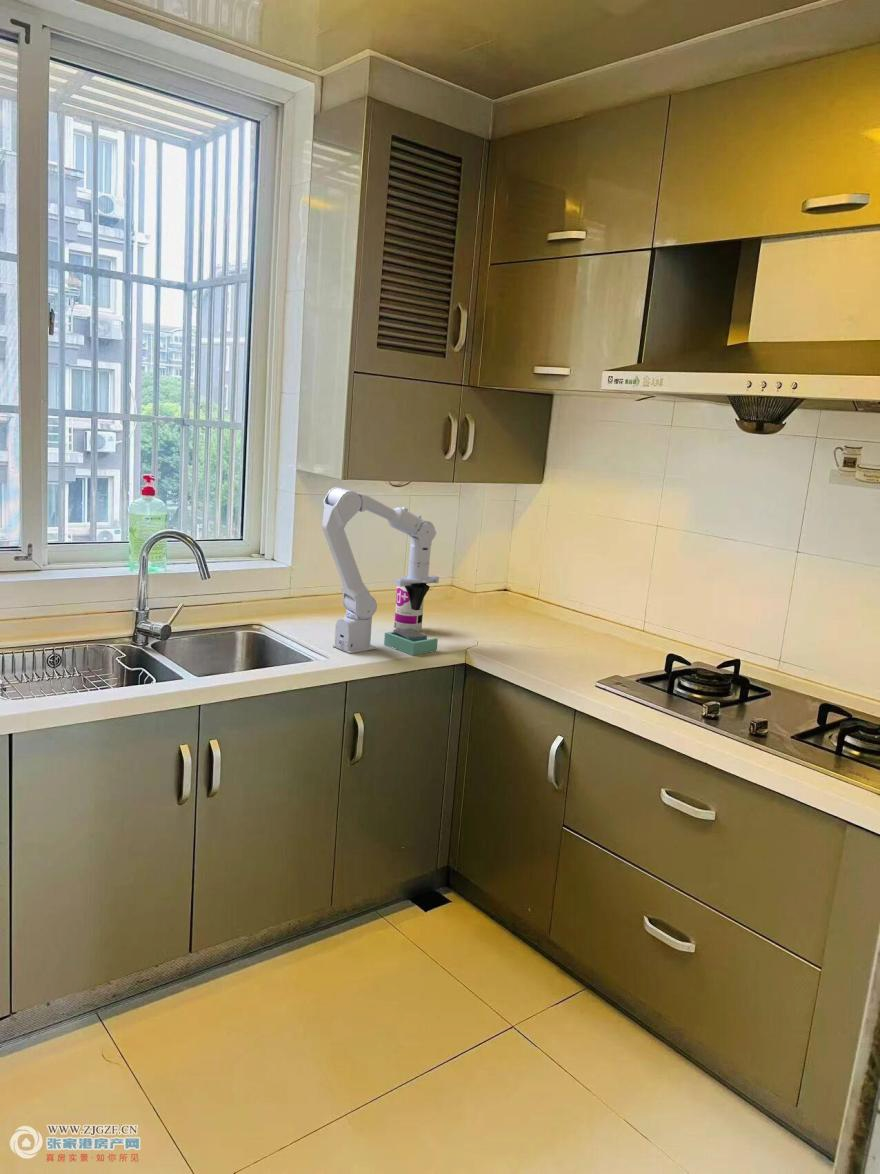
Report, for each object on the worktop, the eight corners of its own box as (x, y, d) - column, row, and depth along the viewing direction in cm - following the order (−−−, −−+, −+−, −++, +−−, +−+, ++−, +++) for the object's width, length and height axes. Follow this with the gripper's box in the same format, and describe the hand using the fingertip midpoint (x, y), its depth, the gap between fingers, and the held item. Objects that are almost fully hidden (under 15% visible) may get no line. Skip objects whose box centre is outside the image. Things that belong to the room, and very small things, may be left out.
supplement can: (405, 635, 258) (408, 585, 255) (388, 628, 264) (391, 579, 261) (426, 632, 263) (430, 583, 260) (410, 625, 269) (413, 577, 266)
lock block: (408, 653, 241) (409, 637, 240) (392, 645, 247) (393, 629, 246) (426, 650, 244) (427, 635, 243) (410, 643, 251) (411, 628, 250)
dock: (412, 655, 238) (413, 643, 237) (384, 644, 246) (384, 632, 245) (436, 651, 244) (437, 638, 243) (408, 640, 252) (408, 628, 252)
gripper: (409, 566, 238) (405, 615, 240) (447, 563, 247) (443, 610, 250) (392, 561, 243) (388, 609, 245) (430, 558, 252) (427, 604, 255)
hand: (415, 609), depth 248 cm, fingers closed
